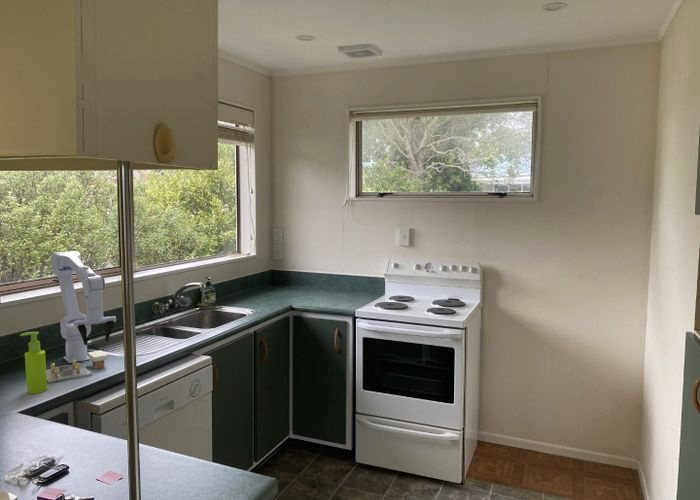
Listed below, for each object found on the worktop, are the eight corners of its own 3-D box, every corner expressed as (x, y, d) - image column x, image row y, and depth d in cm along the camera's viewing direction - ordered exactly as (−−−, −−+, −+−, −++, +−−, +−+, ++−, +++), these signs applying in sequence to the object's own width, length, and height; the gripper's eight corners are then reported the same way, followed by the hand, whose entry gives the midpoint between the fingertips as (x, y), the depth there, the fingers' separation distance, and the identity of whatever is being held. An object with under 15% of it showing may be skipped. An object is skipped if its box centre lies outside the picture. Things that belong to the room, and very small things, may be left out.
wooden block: (92, 364, 212) (91, 356, 211) (100, 363, 213) (99, 355, 213) (96, 368, 207) (96, 360, 207) (104, 367, 209) (103, 358, 208)
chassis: (40, 372, 202) (39, 362, 202) (81, 365, 211) (80, 355, 210) (49, 383, 190) (48, 372, 189) (92, 375, 198) (91, 364, 198)
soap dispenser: (25, 389, 184) (21, 331, 182) (48, 386, 187) (45, 329, 185) (21, 394, 179) (18, 335, 177) (45, 392, 181) (42, 333, 179)
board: (87, 356, 212) (87, 352, 212) (101, 354, 215) (101, 350, 215) (94, 361, 205) (93, 357, 205) (108, 359, 208) (107, 355, 208)
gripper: (76, 311, 198) (78, 348, 199) (117, 306, 207) (119, 341, 208) (71, 308, 203) (73, 344, 205) (112, 304, 212) (114, 338, 214)
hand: (96, 342), depth 207 cm, fingers open, 7 cm apart
